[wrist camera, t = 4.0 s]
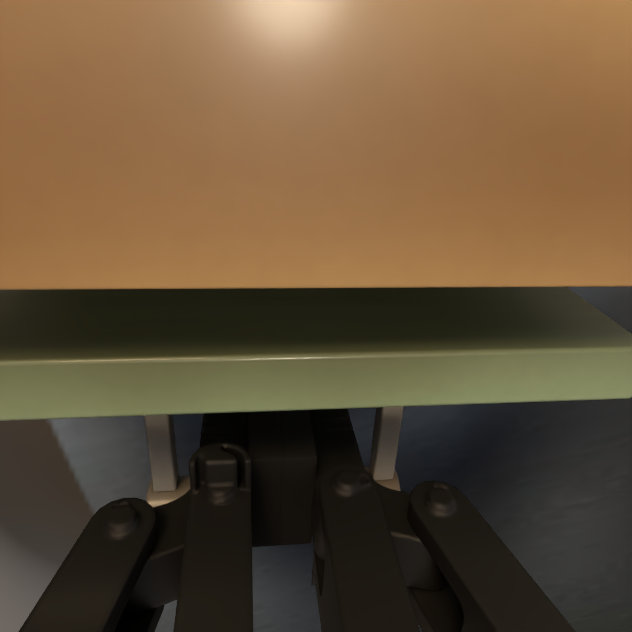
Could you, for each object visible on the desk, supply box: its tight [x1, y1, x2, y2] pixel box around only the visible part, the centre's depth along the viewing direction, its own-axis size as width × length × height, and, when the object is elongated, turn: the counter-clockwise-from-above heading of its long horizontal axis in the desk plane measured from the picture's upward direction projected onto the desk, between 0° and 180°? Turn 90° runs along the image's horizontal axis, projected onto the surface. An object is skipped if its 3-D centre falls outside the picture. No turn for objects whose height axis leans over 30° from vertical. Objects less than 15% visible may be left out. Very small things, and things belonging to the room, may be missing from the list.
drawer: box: [0, 287, 632, 507], centre depth 11 cm, size 23×14×9 cm, turn 178°
